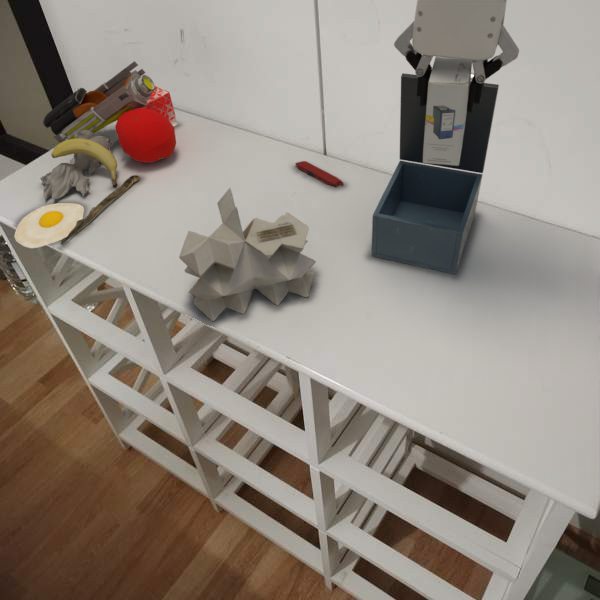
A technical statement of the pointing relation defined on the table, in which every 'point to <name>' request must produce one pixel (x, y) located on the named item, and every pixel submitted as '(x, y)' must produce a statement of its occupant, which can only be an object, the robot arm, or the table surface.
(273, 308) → the table surface
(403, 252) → the storage bin
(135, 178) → the wooden stick
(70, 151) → the fruit
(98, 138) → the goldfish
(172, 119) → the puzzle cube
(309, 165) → the utility knife
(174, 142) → the tomato
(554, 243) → the table surface
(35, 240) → the cracked egg
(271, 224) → the white crumpled paper lump
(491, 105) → the box lid
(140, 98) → the toy blaster gun
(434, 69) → the ink box
